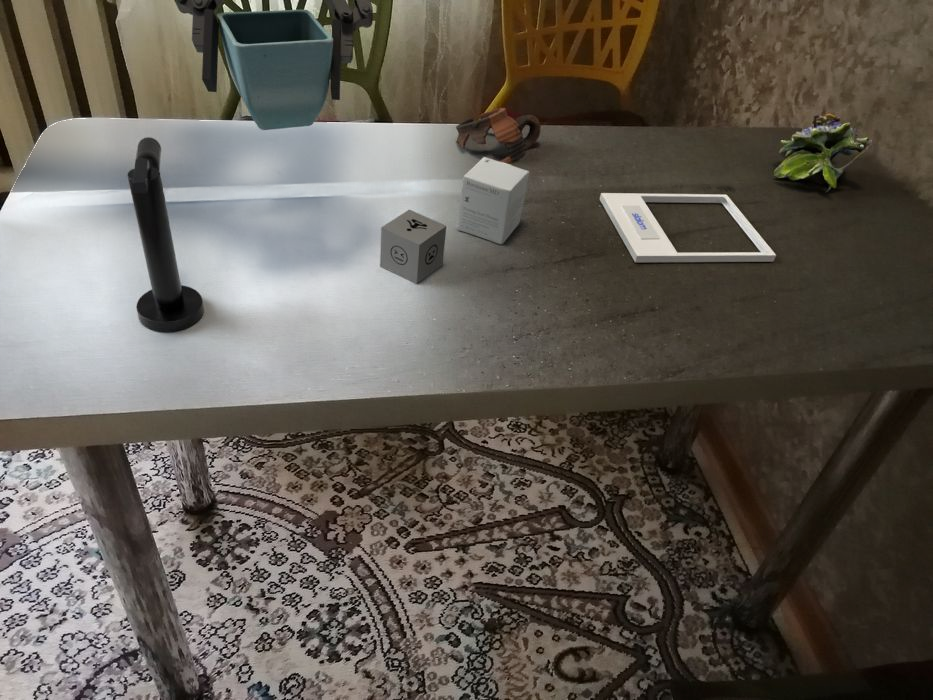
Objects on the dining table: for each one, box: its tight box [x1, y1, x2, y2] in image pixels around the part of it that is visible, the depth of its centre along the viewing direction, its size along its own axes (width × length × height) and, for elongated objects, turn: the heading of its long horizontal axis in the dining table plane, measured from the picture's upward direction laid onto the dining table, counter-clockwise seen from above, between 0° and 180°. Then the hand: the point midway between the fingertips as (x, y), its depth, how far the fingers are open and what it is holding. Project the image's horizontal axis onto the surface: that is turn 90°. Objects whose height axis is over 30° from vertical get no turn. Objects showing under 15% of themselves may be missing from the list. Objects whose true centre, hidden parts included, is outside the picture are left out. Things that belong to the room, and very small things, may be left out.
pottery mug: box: [455, 107, 542, 165], centre depth 103 cm, size 12×10×8 cm
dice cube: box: [379, 209, 447, 285], centre depth 81 cm, size 5×5×5 cm
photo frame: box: [599, 192, 777, 263], centre depth 94 cm, size 15×1×18 cm
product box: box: [457, 156, 530, 245], centre depth 88 cm, size 6×6×7 cm
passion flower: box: [773, 113, 873, 193], centre depth 107 cm, size 11×11×12 cm
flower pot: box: [216, 9, 333, 131], centre depth 71 cm, size 9×9×9 cm
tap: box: [126, 136, 205, 333], centre depth 69 cm, size 11×6×16 cm, turn 14°
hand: (273, 90), depth 69 cm, fingers closed on flower pot, 11 cm apart
